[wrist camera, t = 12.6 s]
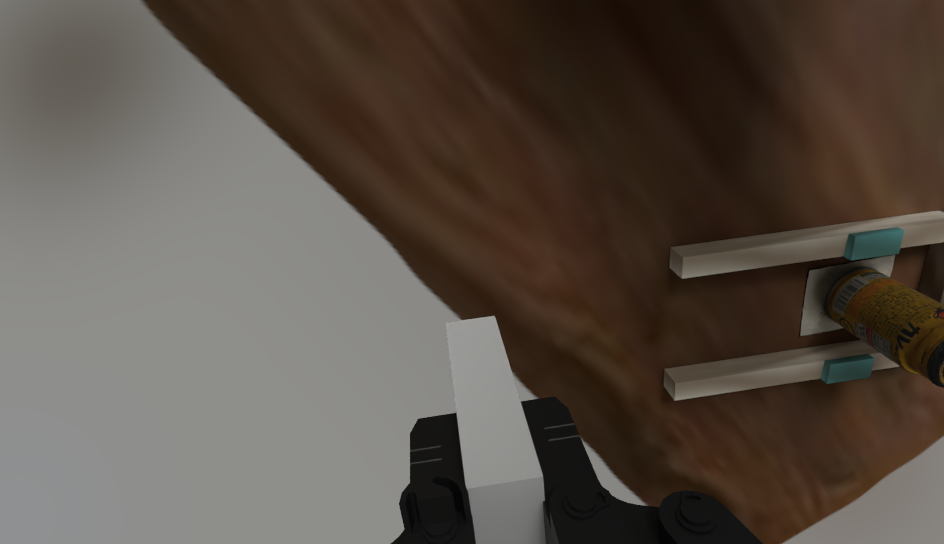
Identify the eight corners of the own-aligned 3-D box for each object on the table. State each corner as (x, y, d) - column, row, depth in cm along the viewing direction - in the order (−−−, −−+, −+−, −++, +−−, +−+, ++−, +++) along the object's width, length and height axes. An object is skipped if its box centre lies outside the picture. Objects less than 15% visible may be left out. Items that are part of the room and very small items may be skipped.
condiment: (880, 320, 55) (998, 392, 44) (798, 335, 54) (897, 411, 43) (893, 253, 52) (1022, 312, 41) (807, 268, 51) (914, 332, 40)
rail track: (670, 246, 49) (687, 260, 46) (955, 207, 50) (989, 218, 47) (663, 386, 55) (678, 406, 52) (917, 348, 57) (945, 365, 54)
